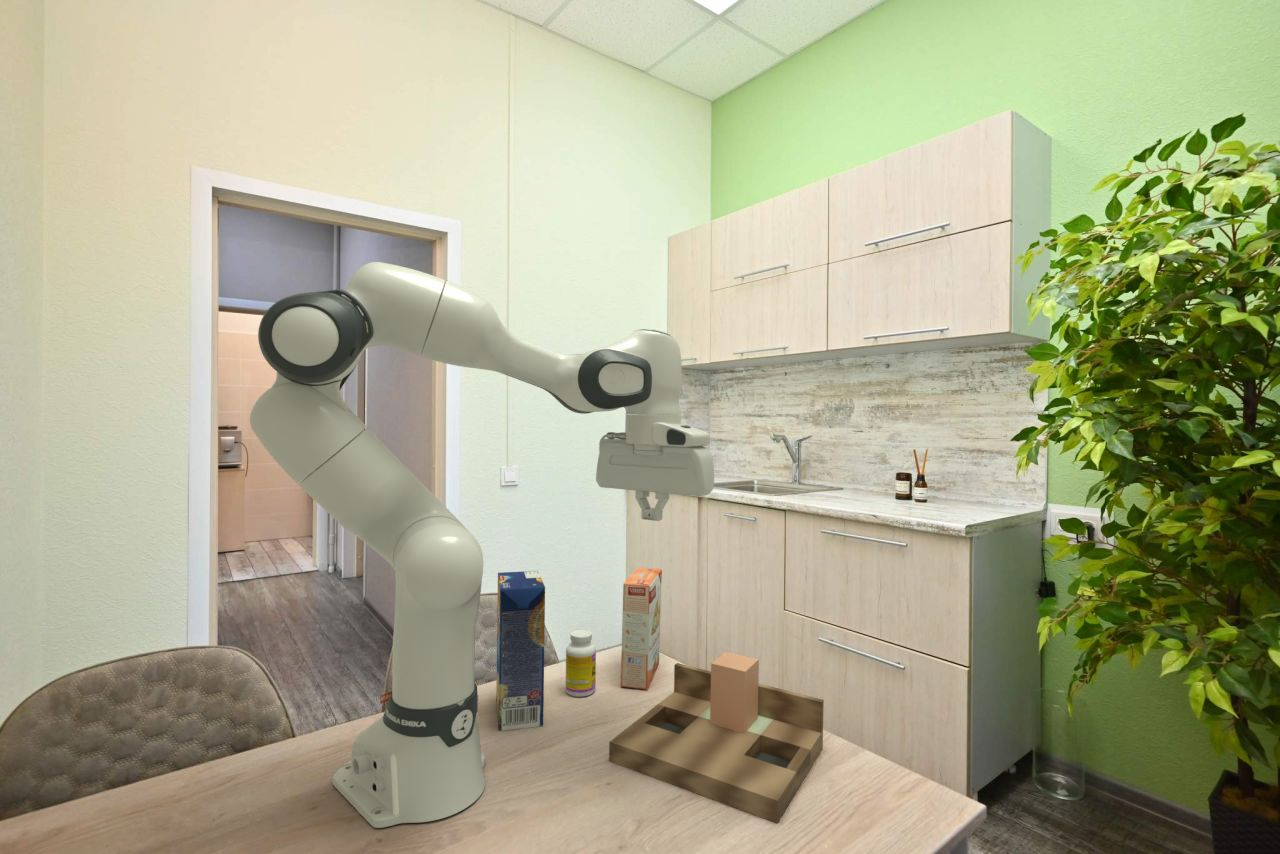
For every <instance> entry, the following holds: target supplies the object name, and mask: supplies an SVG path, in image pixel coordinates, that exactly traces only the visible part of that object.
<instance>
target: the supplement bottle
mask: <svg viewBox="0 0 1280 854" xmlns="http://www.w3.org/2000/svg"><path fill="white" fill-rule="evenodd" d="M592 635H593V633H592V632H591V631H590V630H586V629H577V630H574V631H571V633H570V641H571V642H570V643H569V644H568V645H567V646H566V648H565V682H564V683H565V685H564V686H565V692H566V693H567V694H568V695H570V696H572V697H578V698H581V697H587V696H591V695H592V694H593V693H595V691H596V683H597V682H596V681H597V680H596V677H597V676H596V672H597V670H596V669H597V662H596V661H597V648H596V646H595V644H594V643H592V642H591V641H592V638H593V636H592Z"/></svg>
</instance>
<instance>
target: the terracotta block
mask: <svg viewBox="0 0 1280 854" xmlns="http://www.w3.org/2000/svg"><path fill="white" fill-rule="evenodd" d="M759 661H760V660H759V658H755V657H749V656H745V655H741V654H736V653H733V652H729V651H725V652H724V653H723V654H722V655H720V656H719V657H718V658H716V659H715V660H713V661H712V662H711V663H710V671H711V701H710V724H714V725H717V726H720V727H724V728H727V729H730V730H733V731H737V732H740V733H743V734H744V733H745V732H746V731H747V730H748V729H749V728H750V727H751V726H752V724H753V723H754V722H755V721H756V720H757V719H758V683H759V676H760V675H759V674H760V672H759V670H760V663H759Z"/></svg>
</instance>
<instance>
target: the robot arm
mask: <svg viewBox="0 0 1280 854" xmlns="http://www.w3.org/2000/svg"><path fill="white" fill-rule="evenodd" d="M257 331H258V333H257V337H258V339H257V340H258V344H259V348H260V351H261V353H262V355H263V358H264V360H265V361H266V362H267V363H268V365H269V366H270V367H271V368H272V369H273V370H274V371H275V372H276V374H275V375H276V379H275V381H274V382H273V384H272V386H271V387H269V388H268V389H267V390H265V392H264V393H263V394H261V395H260V396H259V398H258V399H257V400H256V402H255V403H254V405H253V407H252V409H251V412H250V415H249V424H250V428H251V430H252V432H253V433H254V434H255V436H256V437H257V439H258V440H259V442H260V443H261V445H262V446H263V447H264V449H265V450H266V451H267V452H268V454H269V455H270V456H271V458H272V459H273V460H274V461H275V463H277V464H278V465H279V467H280V468H281V469H282V470H283V471H284V473H286V474H287V476H289V477H290V478H291V479H292V480H293V481H294V482H295V483H296V484H297V485H298V486H299V487H300V488H301V489H302V490H303V491H304V492H305V493H306V494H307V495H308V496H309V497H310V498H312V499H313V500H314V501H315V502H316V503H317V504H318V505H320V507H321V508H323V510H324V511H325V512H327V513H328V514H329V515H330V516H331V518H333V519H334V520H335V521H336V522H338V523H337V524H339V525H340V526H341V527H342V528H344V529H345V530H347V531H348V532H350V533H351V534H353V535H354V536H356V537H357V538H358V539H359V540H361V541H362V542H363V543H364V544H365V545H367V546H368V547H369V548H371V549H372V550H373V551H375V553H377V554H378V555H379V556H380V557H382V558H383V559H384V561H386V562H387V563H388V564H389V565H390V566H391V567H392V569H393V570H394V574H395V589H394V590H395V592H394V593H395V595H394V617H393V619H394V620H393V634H392V635H393V636H392V676H391V677H392V683H391V684H392V686H391V687H392V688H391V691H388V692H386V693H384V694H382V695H380V696H379V698H383V699H382V700H381V701H379V704H384V703H386V706H385V709H384V712H383V715H382V716H381V717H380V718H378V719H377V720H376V721H375V722H374V723H372V724H370V725H369V726H368V727H366V728H365V729H364V730H363V731H361V732H360V733H359V734H358V736H356V738H355V740H354V741H353V744H352V747H351V756H350V760H349V761H347V762H345V764H343V765H342V766H341V767H340V768H339V769H338V770H337V771H336V772H335V773H334V774H333V776H332V781H331V782H332V783H331V784H332V785H333V786H334V787H335V789H336V790H337V791H338V792H339V793H340V794H341V795H342V796H343V797H344V798H345V800H347V801H348V802H349V803H350V804H351V805H352V807H354V809H355V810H356V811H357V812H358V813H359V814H360V815H361V816H362V818H364V819H365V820H366V822H367V823H368V824H370V826H372V827H373V828H375V829H381V828H382V829H383V828H387V827H390V826H391V827H392V826H396V825H399V824H408V823H410V824H411V823H413V824H414V823H416V824H417V823H427V822H433V821H437V820H441V819H444V818H448V817H451V816H453V815H455V814H457V813H459V812H461V811H463V810H465V809H467V808H468V807H469V806H471V805H472V804H474V803H475V802H477V800H478V799H479V798H480V797H481V795H483V792H484V790H485V788H486V779H485V774H484V767H485V765H486V757H485V754H484V753H482V750H481V749H482V747H481V738H480V737H481V736H480V728H479V727H480V726H479V725H480V724H479V717H478V711H479V710H478V703H479V702H478V701H479V694H478V686H477V684H476V683H475V677H476V676H475V675H476V674H475V668H476V667H475V665H476V632H477V630H476V629H477V623H478V617H479V608H480V603H481V602H480V600H481V594H482V584H483V583H482V581H483V573H484V555H483V550H482V547H481V545H480V543H479V541H478V540H477V539H476V537H475V536H474V535H473V534H472V533H471V532H470V531H469V529H468V528H467V527H466V526H464V524H463V523H462V522H461V521H460V520H459V519H458V517H456V516H455V515H454V514H453V513H452V512H451V511H450V510H449V509H448V508H447V507H446V506H445V505H444V503H443V502H442V501H441V500H440V499H438V497H437V496H435V494H433V492H432V491H430V489H429V488H428V487H427V486H426V485H425V484H424V483H423V482H421V480H420V479H419V478H418V477H417V476H416V475H415V474H414V473H413V472H412V471H411V470H410V469H409V468H408V467H407V466H406V465H405V463H404V462H402V461H401V460H400V459H399V458H398V457H397V456H396V455H395V454H394V453H393V452H392V451H391V449H389V447H388V446H387V445H386V444H384V442H383V441H382V440H380V438H379V437H378V436H377V435H376V434H374V432H373V431H372V430H371V429H370V428H369V427H367V425H366V424H365V423H364V422H363V421H362V420H361V419H360V418H359V417H358V416H357V415H356V414H355V413H354V412H353V411H352V410H351V409H350V407H349V406H348V405H347V403H346V402H345V400H344V399H343V397H342V395H341V392H340V391H341V389H342V388H343V386H344V385H345V383H346V382H347V380H348V379H349V378H350V376H351V374H352V373H353V372H354V370H355V369H356V367H357V366H358V363H359V362H360V359H361V356H362V355H363V352H364V351H365V350H367V349H369V348H372V347H377V346H387V347H392V348H395V349H399V350H402V351H405V352H407V353H411V354H414V355H416V356H419V357H423V358H425V359H428V360H431V361H435V362H439V363H443V364H447V365H451V366H458V367H463V368H469V369H475V370H476V369H478V370H484V371H485V370H486V371H492V372H496V373H500V374H501V375H505V376H507V377H511V378H513V379H515V380H519V381H521V382H524V383H527V384H528V385H532V386H534V387H537V388H540V389H542V390H544V391H546V392H547V393H549V394H550V395H551V396H552V397H554V399H556V400H557V402H558V403H560V404H561V405H562V406H563V407H564V408H566V409H567V410H569V411H570V412H573V413H576V414H581V415H583V414H586V415H587V414H591V413H596V412H597V413H598V412H599V413H600V412H603V413H604V412H611V411H615V410H619V409H621V408H623V409H625V412H626V413H625V414H626V415H625V432H623V431H621V432H614V431H609V432H607V433H605V434H604V435H603V436H601V438H600V439H599V444H598V446H599V447H598V448H599V449H598V450H599V451H598V452H599V453H598V458H597V465H596V473H595V474H596V476H595V481H596V483H597V485H598V487H599V488H604V489H605V488H606V489H613V490H615V489H617V490H624V491H625V490H627V491H635V500H636V502H637V504H638V506H639V508H640V509H641V512H640V513H641V520H645V521H654V522H656V521H657V522H659V521H662V520H663V513H664V512H663V510H664V508H665V507H666V505H667V503H668V502H669V500H670V494H671V495H672V494H673V495H681V496H682V495H683V496H693V497H703V496H709V495H710V494H711V493H712V491H713V490H714V488H715V470H714V469H715V468H714V467H715V466H714V459H713V454H712V452H711V450H710V449H709V448H707V447H706V446H708V445H709V444H710V441H711V435H710V434H709V433H708V432H707V431H705V430H702V429H700V428H696V427H693V426H692V425H690V424H686V423H684V422H682V409H681V405H680V397H681V396H680V395H681V392H682V387H683V386H682V385H683V382H682V381H683V374H682V373H683V371H682V370H683V369H682V367H683V366H682V356H681V349H680V345H679V343H678V341H677V339H676V338H675V337H674V336H672V335H671V334H669V333H666V332H663V331H660V330H656V329H647V328H646V329H644V328H642V329H641V328H640V329H637V330H634V331H632V333H631V334H630V335H628V336H626V337H625V338H623V339H620V340H618V341H615V342H614V343H611V344H609V345H605V346H603V347H600V348H597V349H593V350H590V351H587V352H584V353H576V354H562V353H558V352H555V351H553V350H550V349H548V348H545V347H543V346H540V345H538V344H535V343H533V342H531V341H529V340H526V339H523V338H521V337H519V336H517V335H515V334H514V333H512V332H511V331H510V330H509V329H508V328H506V326H505V325H504V324H503V323H502V322H501V319H500V318H499V317H498V313H497V312H496V310H495V308H494V307H493V306H492V304H491V303H490V302H489V301H487V300H485V299H484V298H483V297H481V296H480V295H478V294H476V293H474V292H472V291H471V290H469V289H467V288H465V287H463V286H461V285H458V284H456V283H454V282H451V281H448V280H445V279H444V278H441V277H438V276H436V275H433V274H430V273H428V272H427V273H426V272H424V271H421V270H416V269H413V268H410V267H405V266H401V265H397V264H393V263H386V262H381V261H371V262H368V263H366V264H364V265H362V266H360V267H359V268H358V269H357V270H356V271H355V272H354V274H353V275H352V276H351V277H350V279H349V281H348V283H347V285H346V288H345V290H344V289H341V288H339V289H330V290H329V289H328V290H320V291H313V292H312V291H311V292H302V293H297V294H292V295H288V296H285V297H283V298H281V299H279V300H277V301H276V302H275V303H274V304H272V305H271V306H270V307H269V308H268V309H267V310H266V311H265V312H264V314H263V316H262V318H261V320H260V322H259V327H258V330H257ZM650 493H654V495H655V497H654V498H655V500H657V501H656V503H655V506H654V507H651V504H650V502H649V500H648V497H650Z"/></svg>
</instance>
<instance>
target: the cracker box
mask: <svg viewBox="0 0 1280 854" xmlns="http://www.w3.org/2000/svg"><path fill="white" fill-rule="evenodd" d="M662 575H663V570H662V569H660V568H653V567H651V568H650V567H636V569H634V571H633V572H632V573H631V574H630V576H629V577H628V578H627V579H626V580H625V581H624V582H623V585H622V587H623V589H622V621H621V622H622V623H621V625H622V626H621V655H620V657H621V659H620V660H621V661H620V666H621V667H620V687H621V688H630V689H637V690H646V691H647V690H648V689H649V687H650V685H651V683H652V679H653V678H654V676H655V674H656V671H657V669H658V667H659V664H660V646H661V643H660V642H661V641H660V640H661V612H662V611H661V609H662V580H663V579H662Z"/></svg>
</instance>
